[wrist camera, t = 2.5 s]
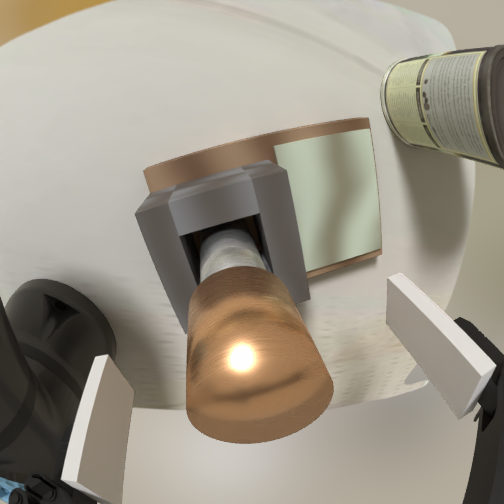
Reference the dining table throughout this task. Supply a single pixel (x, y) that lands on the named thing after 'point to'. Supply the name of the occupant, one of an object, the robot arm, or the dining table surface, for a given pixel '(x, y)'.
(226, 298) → the peg
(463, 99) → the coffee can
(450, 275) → the dining table surface
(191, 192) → the board
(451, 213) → the dining table surface
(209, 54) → the dining table surface
